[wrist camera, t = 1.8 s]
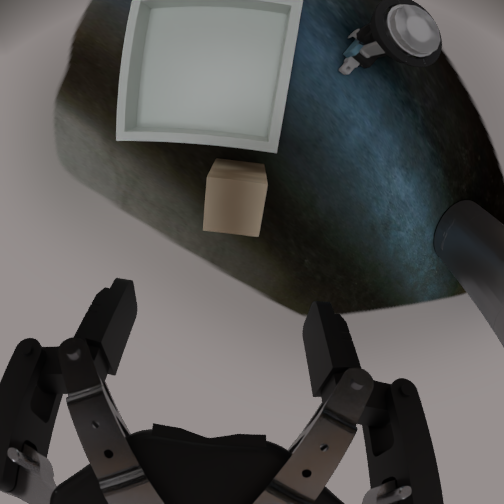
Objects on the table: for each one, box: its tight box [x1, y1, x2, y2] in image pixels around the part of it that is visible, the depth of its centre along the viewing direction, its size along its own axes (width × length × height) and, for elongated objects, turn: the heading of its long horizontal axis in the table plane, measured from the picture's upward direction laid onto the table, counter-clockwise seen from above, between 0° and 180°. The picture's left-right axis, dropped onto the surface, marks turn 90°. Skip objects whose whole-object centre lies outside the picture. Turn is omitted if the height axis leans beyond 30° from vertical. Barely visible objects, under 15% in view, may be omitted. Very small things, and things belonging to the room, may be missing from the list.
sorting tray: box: [116, 0, 303, 153], centre depth 18 cm, size 14×14×4 cm
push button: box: [339, 0, 442, 75], centre depth 14 cm, size 7×5×10 cm
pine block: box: [203, 158, 268, 237], centre depth 24 cm, size 4×4×6 cm
